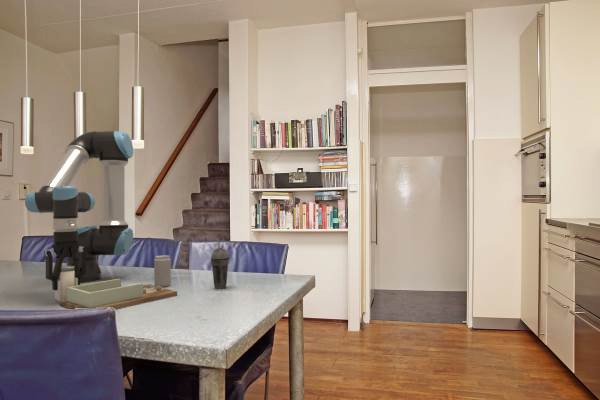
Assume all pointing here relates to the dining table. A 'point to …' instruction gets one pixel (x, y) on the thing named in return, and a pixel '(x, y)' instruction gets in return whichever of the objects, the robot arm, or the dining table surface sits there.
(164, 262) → the beverage can
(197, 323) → the dining table surface
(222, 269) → the beverage cup
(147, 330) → the dining table surface
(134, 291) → the pale green open frame
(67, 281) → the beige rounded cylinder
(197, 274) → the dining table surface
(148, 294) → the board
